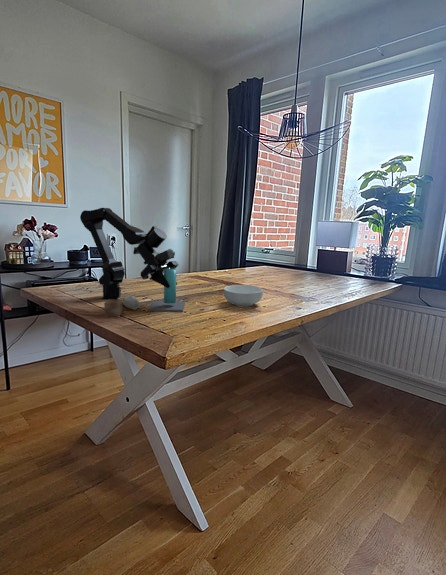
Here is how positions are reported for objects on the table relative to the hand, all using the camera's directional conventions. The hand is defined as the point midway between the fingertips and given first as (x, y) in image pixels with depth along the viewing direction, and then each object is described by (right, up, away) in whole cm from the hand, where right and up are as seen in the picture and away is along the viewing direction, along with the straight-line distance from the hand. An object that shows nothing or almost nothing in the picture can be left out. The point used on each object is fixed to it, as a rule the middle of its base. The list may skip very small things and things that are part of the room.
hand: (172, 286), depth 129 cm
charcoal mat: (-3, -8, +3) cm, 9 cm away
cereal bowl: (+28, -8, +13) cm, 32 cm away
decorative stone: (-17, -8, +3) cm, 19 cm away
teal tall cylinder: (-2, -6, +2) cm, 7 cm away
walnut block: (-20, -10, -9) cm, 24 cm away
